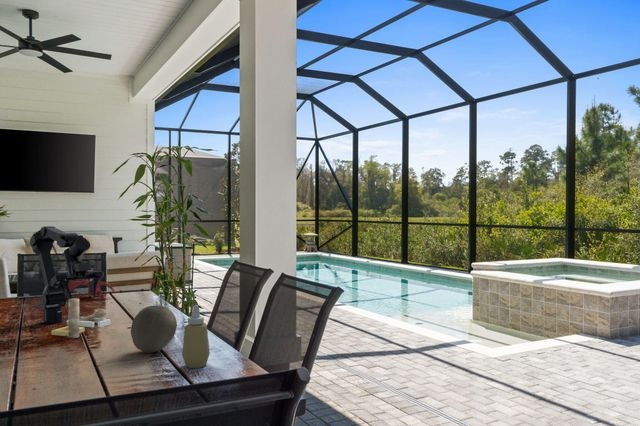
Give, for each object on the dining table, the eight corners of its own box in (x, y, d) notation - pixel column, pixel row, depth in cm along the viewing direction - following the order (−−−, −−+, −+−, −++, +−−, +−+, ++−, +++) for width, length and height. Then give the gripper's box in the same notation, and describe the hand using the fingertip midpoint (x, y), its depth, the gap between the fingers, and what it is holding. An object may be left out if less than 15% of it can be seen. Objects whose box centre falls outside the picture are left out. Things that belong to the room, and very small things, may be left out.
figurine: (69, 331, 208) (107, 319, 213) (65, 320, 207) (104, 308, 213) (69, 329, 211) (107, 317, 216) (66, 318, 211) (104, 307, 216)
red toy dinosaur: (71, 304, 286) (58, 286, 276) (78, 291, 293) (67, 273, 283) (117, 305, 282) (106, 287, 272) (124, 292, 288) (114, 274, 278)
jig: (36, 333, 196) (36, 328, 196) (81, 321, 217) (81, 316, 218) (69, 336, 191) (69, 330, 191) (112, 323, 213) (112, 318, 213)
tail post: (66, 337, 188) (66, 299, 188) (73, 335, 192) (73, 298, 192) (74, 338, 187) (74, 300, 187) (81, 336, 191) (81, 298, 191)
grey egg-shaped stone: (151, 359, 159) (150, 311, 159) (121, 353, 166) (121, 307, 167) (185, 349, 171) (185, 304, 171) (156, 344, 178) (156, 301, 178)
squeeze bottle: (184, 362, 156) (184, 303, 156) (211, 361, 157) (211, 302, 157) (179, 370, 148) (179, 308, 148) (207, 369, 149) (207, 307, 149)
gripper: (57, 254, 192) (66, 292, 188) (105, 251, 207) (114, 287, 202) (46, 267, 198) (55, 304, 194) (93, 263, 213) (102, 298, 208)
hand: (82, 298), depth 199 cm, fingers open, 9 cm apart
